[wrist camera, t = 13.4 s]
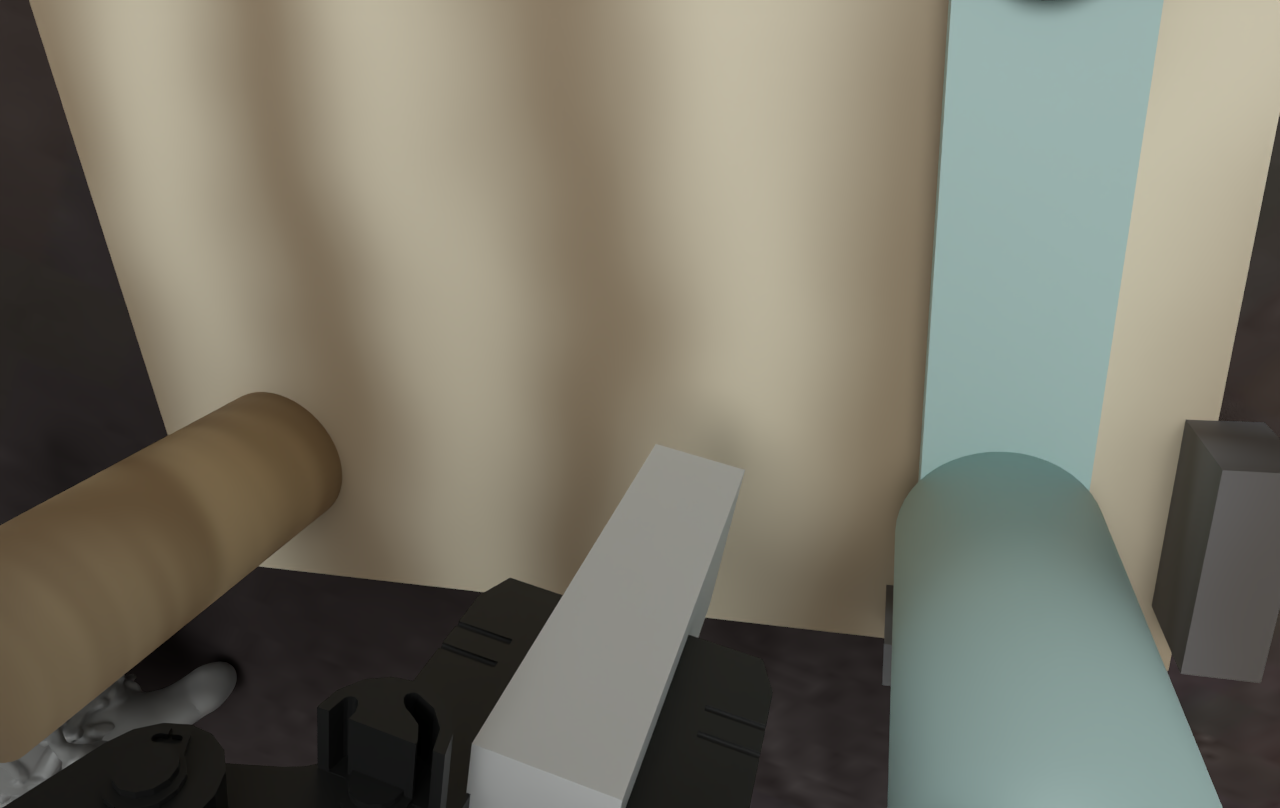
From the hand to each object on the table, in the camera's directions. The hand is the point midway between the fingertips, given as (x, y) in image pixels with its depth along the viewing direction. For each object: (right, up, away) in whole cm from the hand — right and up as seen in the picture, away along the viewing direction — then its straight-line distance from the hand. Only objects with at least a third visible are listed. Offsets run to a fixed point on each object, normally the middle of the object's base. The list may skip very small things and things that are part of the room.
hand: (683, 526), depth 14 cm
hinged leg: (+6, +4, +1) cm, 7 cm away
